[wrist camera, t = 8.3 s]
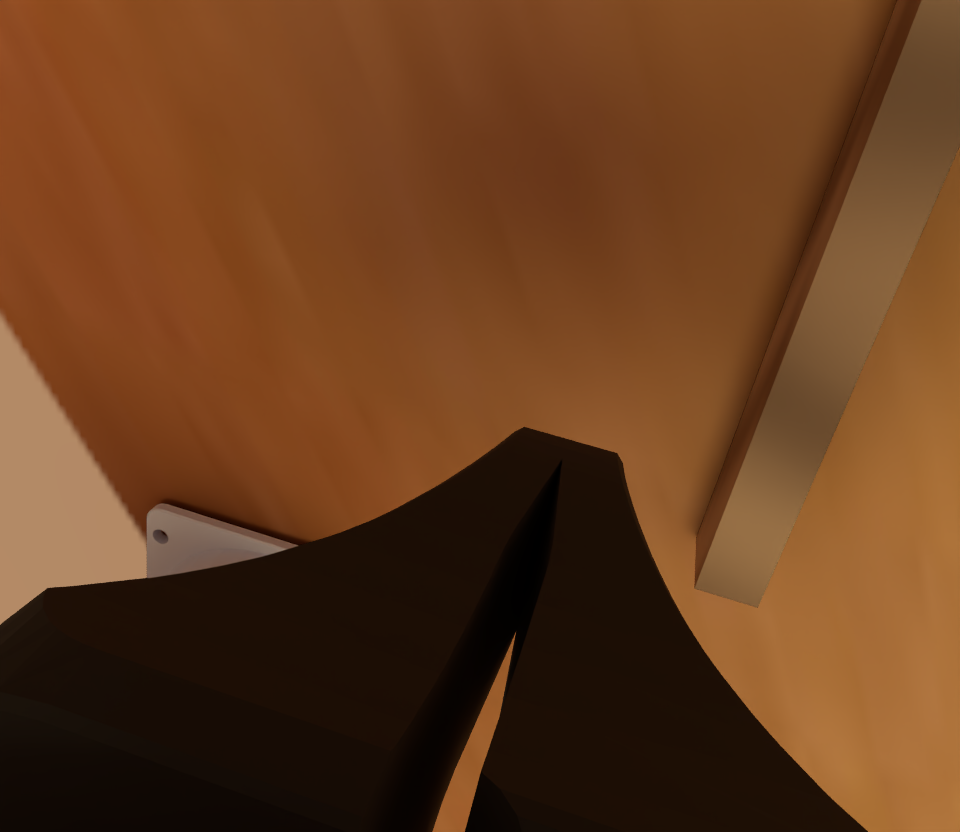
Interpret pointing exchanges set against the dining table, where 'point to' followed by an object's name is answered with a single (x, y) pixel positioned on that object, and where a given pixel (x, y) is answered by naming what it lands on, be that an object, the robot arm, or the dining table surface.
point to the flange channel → (837, 296)
